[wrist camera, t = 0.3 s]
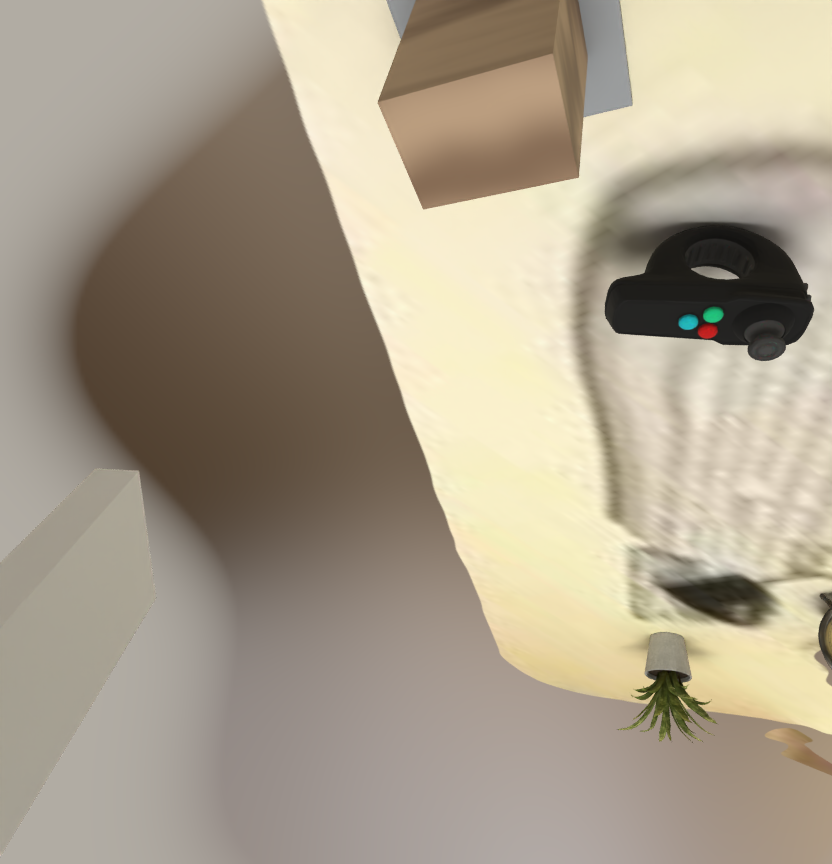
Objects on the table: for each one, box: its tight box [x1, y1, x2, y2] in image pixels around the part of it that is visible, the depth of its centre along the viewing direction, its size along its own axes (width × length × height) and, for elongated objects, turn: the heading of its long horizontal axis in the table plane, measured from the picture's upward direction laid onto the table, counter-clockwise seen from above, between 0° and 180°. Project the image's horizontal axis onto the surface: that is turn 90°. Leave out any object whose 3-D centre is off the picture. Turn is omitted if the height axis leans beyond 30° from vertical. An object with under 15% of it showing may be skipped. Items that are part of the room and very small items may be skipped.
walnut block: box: [378, 0, 588, 209], centre depth 34 cm, size 6×8×11 cm
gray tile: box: [386, 0, 632, 117], centre depth 38 cm, size 13×12×1 cm
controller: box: [605, 226, 814, 361], centre depth 44 cm, size 4×12×10 cm, turn 97°
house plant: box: [618, 632, 716, 741], centre depth 108 cm, size 14×14×16 cm
